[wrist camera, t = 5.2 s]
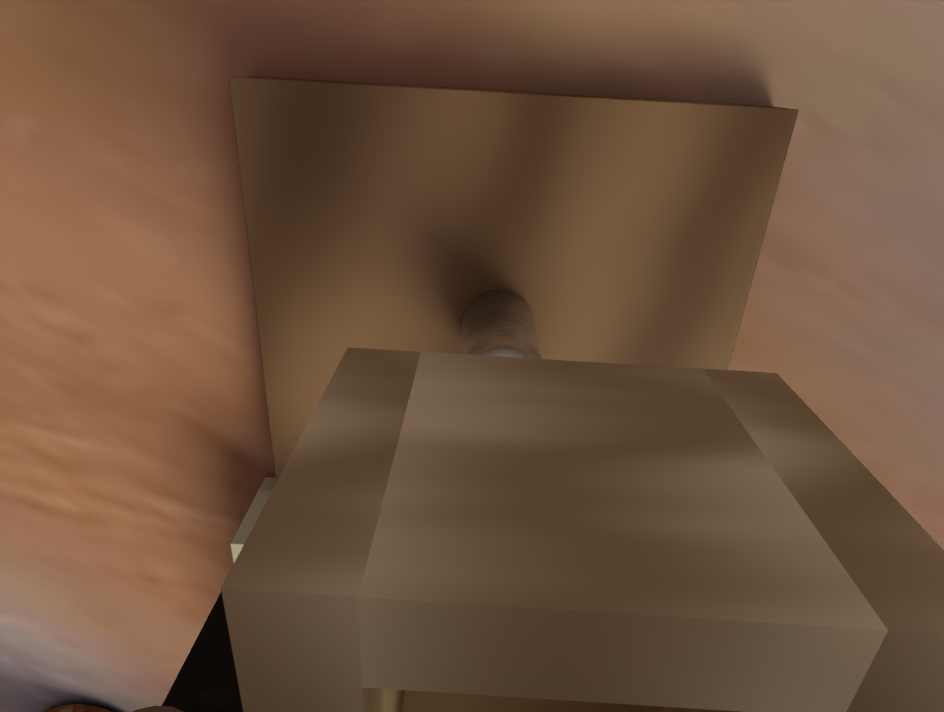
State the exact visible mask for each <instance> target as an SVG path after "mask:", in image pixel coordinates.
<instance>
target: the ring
mask: <svg viewBox="0 0 944 712" xmlns="http://www.w3.org/2000/svg"><path fill="white" fill-rule="evenodd" d="M221 592H222V597H223V603H224V608H225V614H226V619H227V625H228V630H229V636H230V641H231V647H232V652H233V658H234V663H235V669H236V674H237V680H238V685H239V691H240V696H241V702H242V707H243V712H944V550H943V549H942V548H941V547H940V546H939V545H938V544H937V543H936V542H935V541H934V540H933V538H932V537H931V536H930V535H929V534H928V533H927V532H926V531H925V530H924V529H923V528H922V527H921V526H920V525H919V524H918V523H917V522H916V520H915V519H914V518H913V517H912V516H911V515H910V514H909V513H908V512H907V511H906V510H905V509H904V508H903V507H902V506H901V505H900V503H899V502H898V501H897V500H896V499H895V498H894V497H893V496H892V495H891V494H890V493H889V492H888V491H887V490H886V489H885V488H884V486H883V485H882V484H881V483H880V482H879V481H878V480H877V479H876V478H875V477H874V476H873V475H872V474H871V473H870V472H869V471H868V470H867V468H866V467H865V466H864V465H863V464H862V463H861V462H860V461H859V460H858V459H857V458H856V457H855V456H854V455H853V454H852V453H851V451H850V450H849V449H848V448H847V447H846V446H845V445H844V444H843V443H842V442H841V441H840V440H839V439H838V438H837V437H836V436H835V435H834V433H833V432H832V431H831V430H830V429H829V428H828V427H827V426H826V425H825V424H824V423H823V422H822V421H821V420H820V419H819V418H818V416H817V415H816V414H815V413H814V412H813V411H812V410H811V409H810V408H809V407H808V406H807V405H806V404H805V403H804V402H803V401H802V400H801V398H800V397H799V396H798V395H797V394H796V393H795V392H794V391H793V390H792V389H791V388H790V387H789V386H788V385H787V384H786V383H785V381H784V380H783V379H782V378H781V377H780V376H779V375H778V374H777V373H764V372H747V371H731V370H714V369H698V368H681V367H665V366H648V365H632V364H615V363H599V362H582V361H566V360H549V359H532V358H516V357H499V356H483V355H466V354H450V353H433V352H417V351H400V350H384V349H367V348H351V347H348V348H347V350H346V351H345V353H344V355H343V357H342V359H341V361H340V363H339V365H338V367H337V369H336V370H335V372H334V374H333V376H332V378H331V380H330V382H329V384H328V386H327V388H326V389H325V391H324V393H323V395H322V397H321V399H320V401H319V403H318V405H317V407H316V408H315V410H314V412H313V414H312V416H311V418H310V420H309V422H308V424H307V426H306V427H305V429H304V431H303V433H302V435H301V437H300V439H299V441H298V443H297V445H296V446H295V448H294V450H293V452H292V454H291V456H290V458H289V460H288V462H287V464H286V465H285V467H284V469H283V471H282V473H281V475H280V477H279V479H278V481H277V483H276V485H275V486H274V488H273V490H272V492H271V494H270V496H269V498H268V500H267V502H266V504H265V505H264V507H263V509H262V511H261V513H260V515H259V517H258V519H257V521H256V523H255V524H254V526H253V528H252V530H251V532H250V534H249V536H248V538H247V540H246V542H245V543H244V545H243V547H242V549H241V551H240V553H239V555H238V557H237V559H236V561H235V562H234V564H233V566H232V568H231V570H230V572H229V574H228V576H227V578H226V580H225V581H224V583H223V585H222V587H221Z"/></svg>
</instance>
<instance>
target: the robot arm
mask: <svg viewBox="0 0 944 712" xmlns="http://www.w3.org/2000/svg"><path fill="white" fill-rule="evenodd" d="M133 712H243V707H242V702H241V696H240V691H239V685H238V680H237V674H236V669H235V663H234V658H233V652H232V647H231V641H230V636H229V630H228V625H227V619H226V614H225V608H224V603H223V597H222V592H221V593H220V595H219V597H218V599H217V601H216V603H215V605H214V607H213V609H212V611H211V612H210V614H209V616H208V618H207V620H206V622H205V624H204V626H203V628H202V630H201V632H200V634H199V636H198V637H197V639H196V641H195V643H194V645H193V647H192V649H191V651H190V653H189V655H188V657H187V659H186V660H185V662H184V664H183V666H182V668H181V670H180V672H179V674H178V676H177V678H176V680H175V682H174V684H173V685H172V687H171V689H170V691H169V693H168V695H167V697H166V699H165V701H164V703H163V705H162V706H152V707H148V708H143V709H138V710H135V711H133Z"/></svg>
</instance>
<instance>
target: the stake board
mask: <svg viewBox="0 0 944 712" xmlns="http://www.w3.org/2000/svg"><path fill="white" fill-rule="evenodd" d="M229 80H230V89H231V97H232V106H233V115H234V123H235V132H236V140H237V149H238V158H239V166H240V175H241V183H242V192H243V201H244V209H245V218H246V227H247V235H248V244H249V252H250V261H251V270H252V278H253V287H254V295H255V304H256V313H257V321H258V330H259V339H260V347H261V356H262V364H263V373H264V382H265V390H266V399H267V407H268V416H269V425H270V433H271V442H272V451H273V459H274V468H275V476H276V482H277V481H278V479H279V477H280V475H281V473H282V471H283V469H284V467H285V465H286V464H287V462H288V460H289V458H290V456H291V454H292V452H293V450H294V448H295V446H296V445H297V443H298V441H299V439H300V437H301V435H302V433H303V431H304V429H305V427H306V426H307V424H308V422H309V420H310V418H311V416H312V414H313V412H314V410H315V408H316V407H317V405H318V403H319V401H320V399H321V397H322V395H323V393H324V391H325V389H326V388H327V386H328V384H329V382H330V380H331V378H332V376H333V374H334V372H335V370H336V369H337V367H338V365H339V363H340V361H341V359H342V357H343V355H344V353H345V351H346V350H347V348H348V347H351V348H367V349H384V350H400V351H417V352H433V353H450V354H460V344H461V328H462V317H463V314H464V311H465V309H466V307H467V305H468V304H469V303H470V302H471V301H472V300H473V299H474V298H475V297H476V296H478V295H480V294H481V293H484V292H486V291H490V290H507V291H511V292H513V293H516V294H517V295H519V296H520V297H522V298H523V299H524V300H525V301H526V302H527V303H528V305H529V306H530V308H531V310H532V312H533V316H534V321H535V325H536V330H537V334H538V339H539V343H540V348H541V352H542V357H543V359H549V360H566V361H582V362H599V363H615V364H632V365H648V366H665V367H681V368H698V369H714V370H728V367H729V363H730V360H731V356H732V352H733V349H734V345H735V341H736V337H737V334H738V330H739V326H740V323H741V319H742V315H743V312H744V308H745V304H746V301H747V297H748V293H749V290H750V286H751V282H752V279H753V275H754V271H755V268H756V264H757V260H758V257H759V253H760V249H761V246H762V242H763V238H764V235H765V231H766V227H767V224H768V220H769V216H770V213H771V209H772V205H773V202H774V198H775V194H776V191H777V187H778V183H779V180H780V176H781V172H782V169H783V165H784V161H785V158H786V154H787V150H788V147H789V143H790V139H791V135H792V132H793V128H794V124H795V121H796V117H797V113H798V110H795V109H788V108H780V107H770V106H752V105H735V104H717V103H700V102H682V101H665V100H648V99H630V98H613V97H595V96H578V95H560V94H543V93H526V92H508V91H491V90H473V89H456V88H438V87H421V86H403V85H386V84H369V83H351V82H334V81H316V80H299V79H281V78H264V77H229Z"/></svg>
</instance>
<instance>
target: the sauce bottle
mask: <svg viewBox="0 0 944 712" xmlns="http://www.w3.org/2000/svg"><path fill="white" fill-rule="evenodd" d="M44 712H112V711H110V710H108V709H104V708H100V707H98V706H90V705H84V704H71V705H62V706H58V707H53V708H51V709H48V710H46V711H44Z"/></svg>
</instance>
